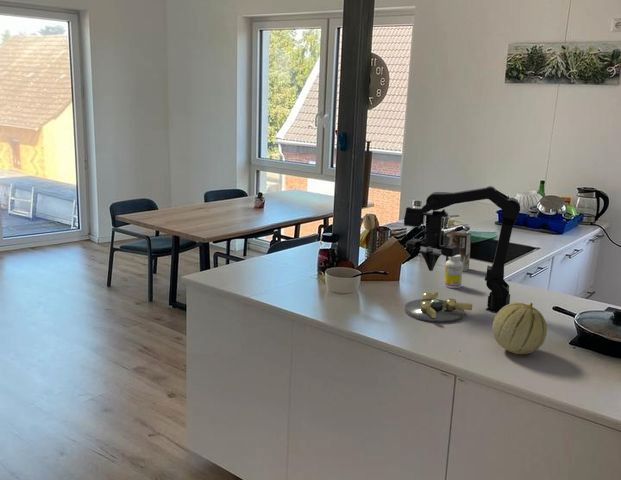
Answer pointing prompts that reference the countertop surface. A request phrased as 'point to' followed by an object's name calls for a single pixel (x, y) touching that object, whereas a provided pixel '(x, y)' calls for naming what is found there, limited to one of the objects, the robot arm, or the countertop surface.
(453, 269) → the supplement bottle
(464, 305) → the knob
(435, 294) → the knob
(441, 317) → the tribrach plate
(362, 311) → the countertop surface
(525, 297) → the countertop surface
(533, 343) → the cantaloupe
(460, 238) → the coffee box
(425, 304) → the knob
